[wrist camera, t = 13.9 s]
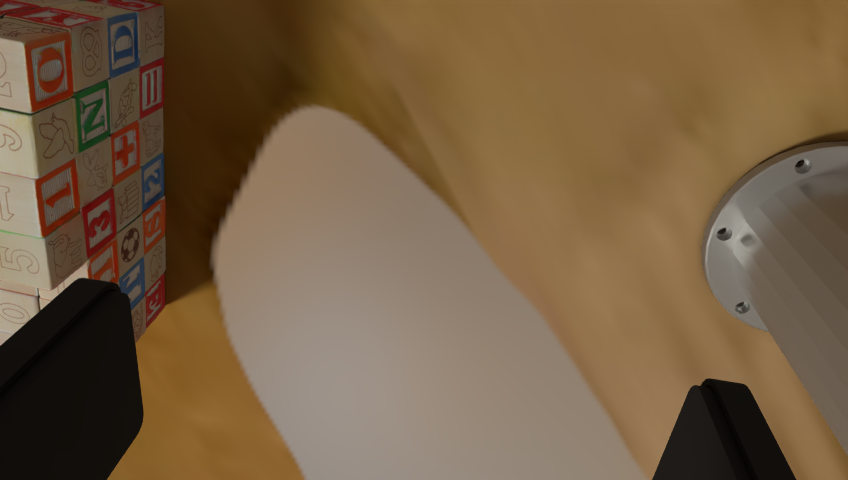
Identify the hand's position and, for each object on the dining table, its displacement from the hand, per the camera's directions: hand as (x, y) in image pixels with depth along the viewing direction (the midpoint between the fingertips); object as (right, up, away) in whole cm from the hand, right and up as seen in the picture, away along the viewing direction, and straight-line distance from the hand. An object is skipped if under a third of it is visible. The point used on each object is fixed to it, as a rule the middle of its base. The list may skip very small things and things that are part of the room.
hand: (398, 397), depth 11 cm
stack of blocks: (-19, +8, +31) cm, 37 cm away
